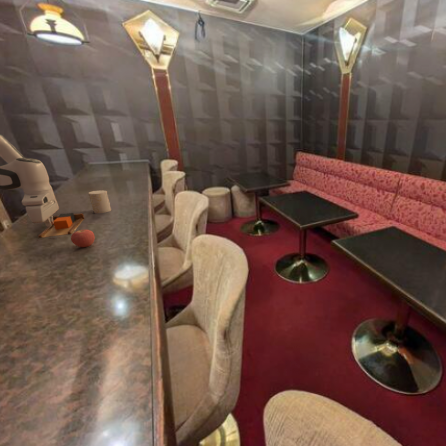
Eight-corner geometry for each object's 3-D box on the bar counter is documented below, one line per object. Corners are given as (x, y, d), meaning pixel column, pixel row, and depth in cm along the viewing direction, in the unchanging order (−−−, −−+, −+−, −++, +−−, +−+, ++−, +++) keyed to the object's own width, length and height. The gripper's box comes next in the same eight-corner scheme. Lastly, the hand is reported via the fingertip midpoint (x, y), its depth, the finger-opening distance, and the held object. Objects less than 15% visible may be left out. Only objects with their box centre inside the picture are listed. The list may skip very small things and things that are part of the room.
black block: (59, 225, 122) (56, 217, 121) (63, 221, 127) (60, 214, 126) (72, 223, 125) (69, 216, 123) (75, 220, 130) (73, 212, 128)
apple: (84, 251, 101) (78, 233, 98) (69, 249, 102) (63, 231, 99) (101, 243, 107) (96, 226, 105) (87, 241, 109) (82, 224, 106)
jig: (37, 239, 109) (34, 231, 108) (55, 222, 127) (52, 216, 126) (72, 235, 114) (70, 227, 113) (84, 219, 132) (82, 213, 131)
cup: (90, 213, 142) (84, 193, 138) (104, 209, 149) (98, 189, 145) (101, 214, 140) (96, 194, 136) (114, 210, 148) (110, 191, 143)
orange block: (55, 229, 118) (52, 221, 116) (59, 225, 123) (57, 217, 121) (68, 227, 120) (66, 220, 118) (72, 223, 125) (70, 216, 123)
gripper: (40, 191, 115) (49, 218, 120) (19, 202, 98) (30, 234, 103) (58, 190, 118) (66, 217, 122) (40, 201, 101) (51, 232, 106)
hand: (50, 225), depth 112 cm, fingers closed
